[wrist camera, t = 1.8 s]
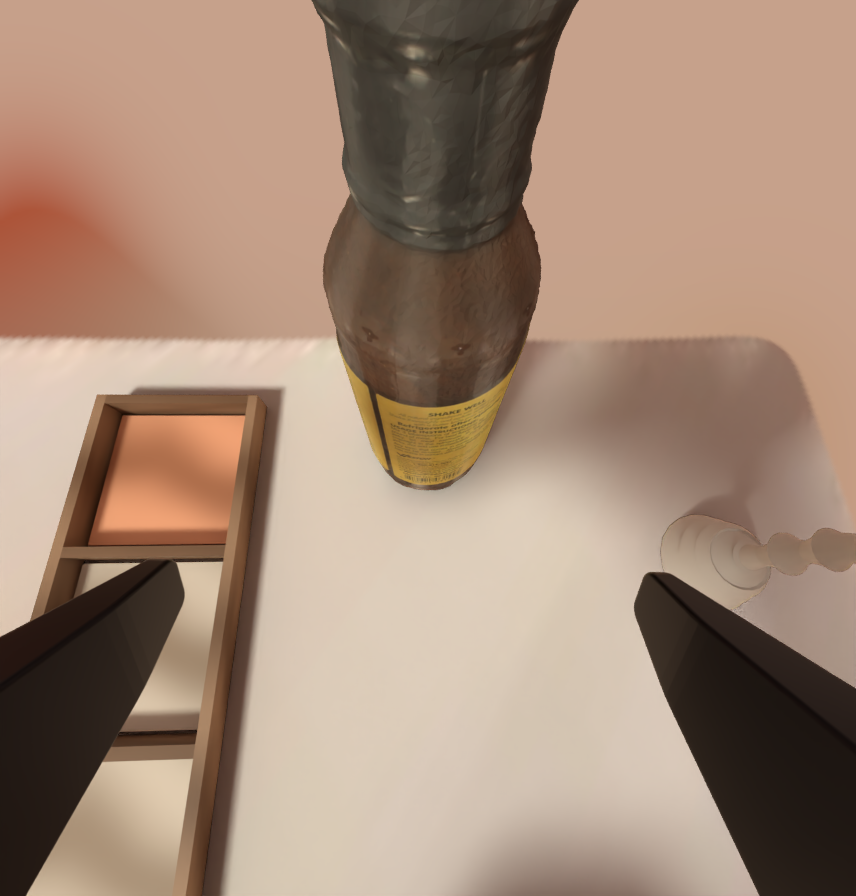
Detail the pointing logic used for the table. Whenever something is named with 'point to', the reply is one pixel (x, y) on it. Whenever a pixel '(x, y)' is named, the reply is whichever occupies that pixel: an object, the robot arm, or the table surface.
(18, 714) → the robot arm
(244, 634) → the table surface
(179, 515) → the brown compartment tray
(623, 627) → the table surface
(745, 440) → the table surface
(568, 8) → the sauce bottle
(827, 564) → the chalice
